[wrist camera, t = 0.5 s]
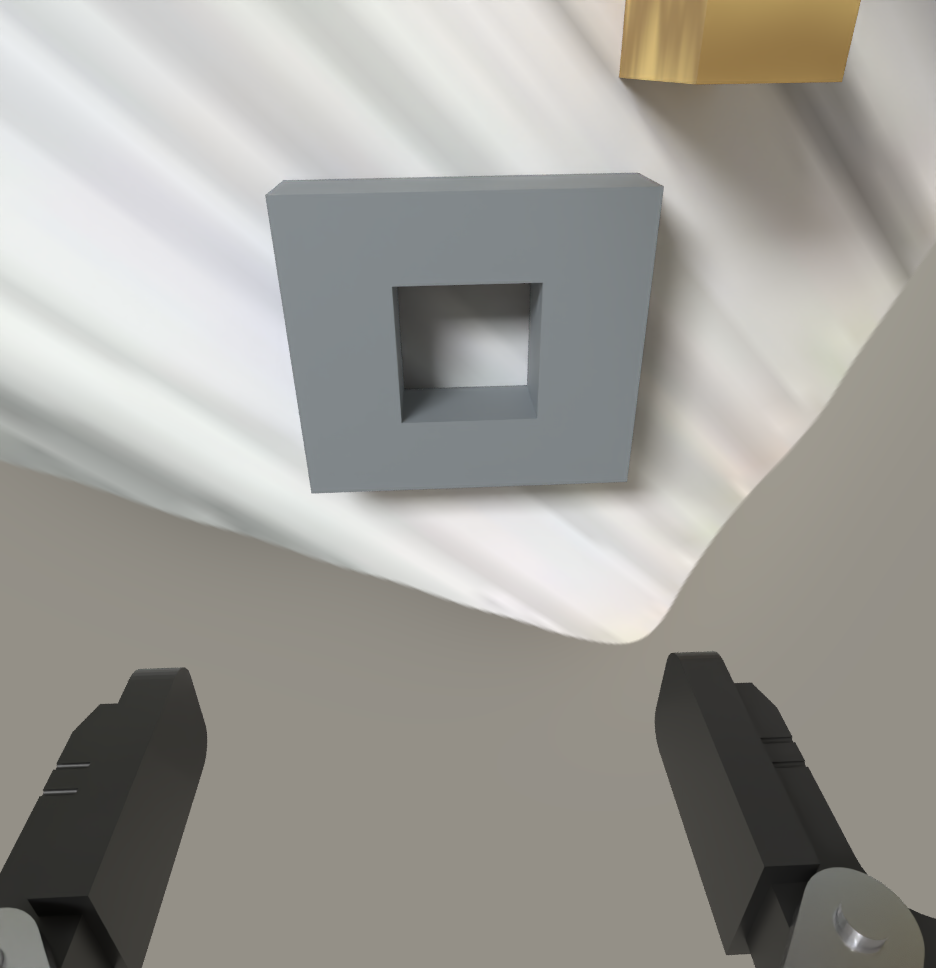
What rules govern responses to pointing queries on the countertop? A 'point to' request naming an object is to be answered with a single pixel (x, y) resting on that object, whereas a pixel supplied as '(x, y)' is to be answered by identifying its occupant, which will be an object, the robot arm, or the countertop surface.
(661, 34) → the peg
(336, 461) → the hole block
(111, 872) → the robot arm
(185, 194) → the countertop surface
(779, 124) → the countertop surface
